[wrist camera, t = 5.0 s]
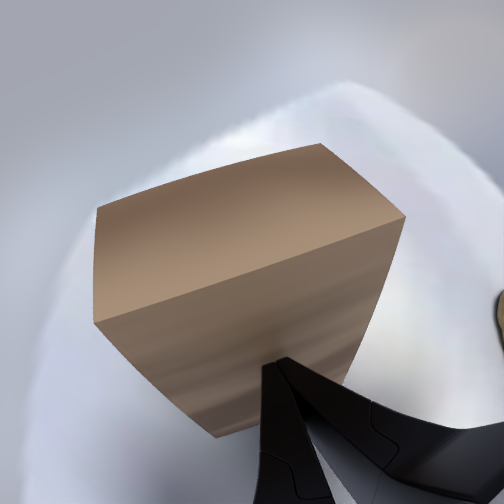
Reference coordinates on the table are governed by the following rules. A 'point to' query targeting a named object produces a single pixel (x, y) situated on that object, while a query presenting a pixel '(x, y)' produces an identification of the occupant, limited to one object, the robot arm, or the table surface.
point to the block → (242, 277)
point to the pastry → (501, 314)
